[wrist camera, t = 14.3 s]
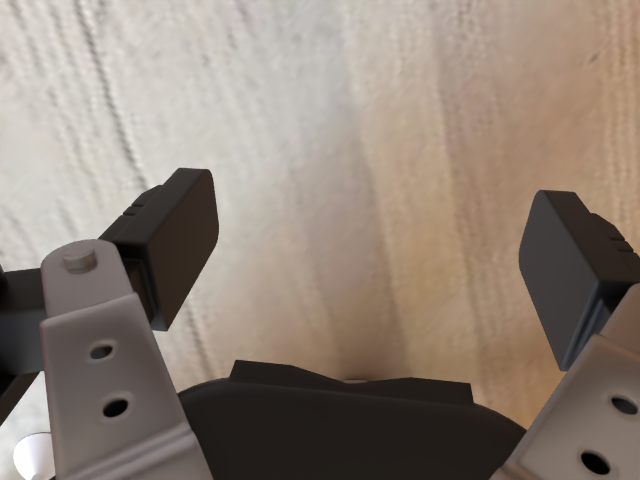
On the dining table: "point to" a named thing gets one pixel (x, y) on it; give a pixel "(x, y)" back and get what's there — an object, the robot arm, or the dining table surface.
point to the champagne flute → (35, 457)
